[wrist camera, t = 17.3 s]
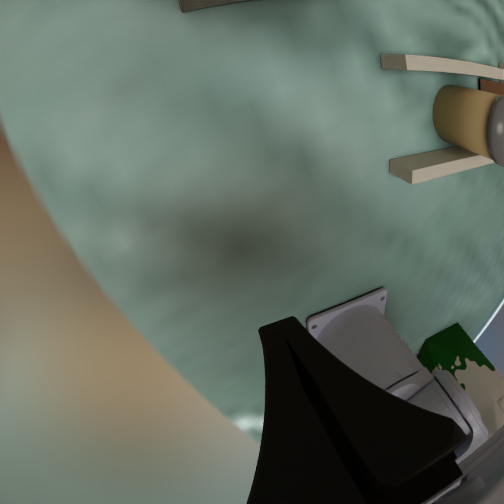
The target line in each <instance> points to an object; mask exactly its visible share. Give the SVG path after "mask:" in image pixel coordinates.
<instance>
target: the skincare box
mask: <svg viewBox="0 0 504 504" xmlns="http://www.w3.org/2000/svg"><path fill="white" fill-rule="evenodd" d="M239 1H246V0H179V4H180V8H181V11H182V12H188V11H192V10H196V9H201V8H206V7H211V6H216V5H221V4H227V3H233V2H239Z"/></svg>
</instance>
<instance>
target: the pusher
mask: <svg viewBox="0 0 504 504" xmlns="http://www.w3.org/2000/svg"><path fill="white" fill-rule="evenodd" d="M480 85H481V91H485V92H489V93H493V94H497V95H504V84H503V83H499V82H495V81H490V80H484V79H480Z"/></svg>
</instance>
